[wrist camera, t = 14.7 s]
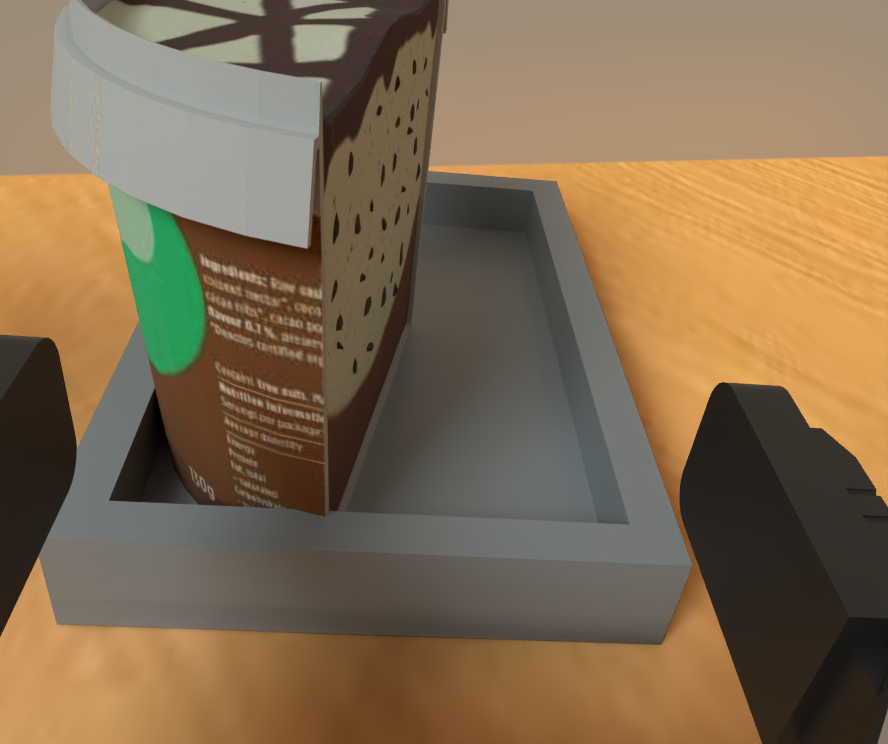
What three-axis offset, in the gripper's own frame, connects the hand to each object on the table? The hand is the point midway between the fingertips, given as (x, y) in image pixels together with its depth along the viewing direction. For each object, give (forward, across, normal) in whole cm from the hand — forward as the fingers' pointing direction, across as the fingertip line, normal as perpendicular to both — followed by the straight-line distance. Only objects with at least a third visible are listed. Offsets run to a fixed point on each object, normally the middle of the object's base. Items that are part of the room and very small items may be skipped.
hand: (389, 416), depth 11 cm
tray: (+11, 0, +8) cm, 14 cm away
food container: (+8, +3, +7) cm, 11 cm away
